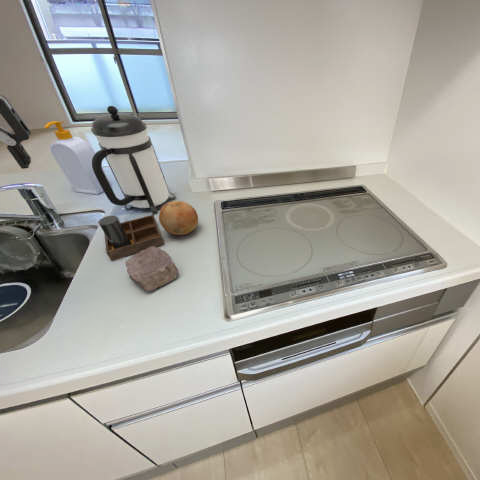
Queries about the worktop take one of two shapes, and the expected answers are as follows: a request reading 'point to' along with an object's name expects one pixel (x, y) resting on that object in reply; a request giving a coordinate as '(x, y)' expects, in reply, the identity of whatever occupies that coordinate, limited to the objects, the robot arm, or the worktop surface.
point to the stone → (151, 268)
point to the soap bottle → (75, 160)
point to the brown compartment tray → (137, 237)
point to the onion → (178, 217)
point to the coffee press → (128, 161)
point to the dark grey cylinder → (114, 231)
